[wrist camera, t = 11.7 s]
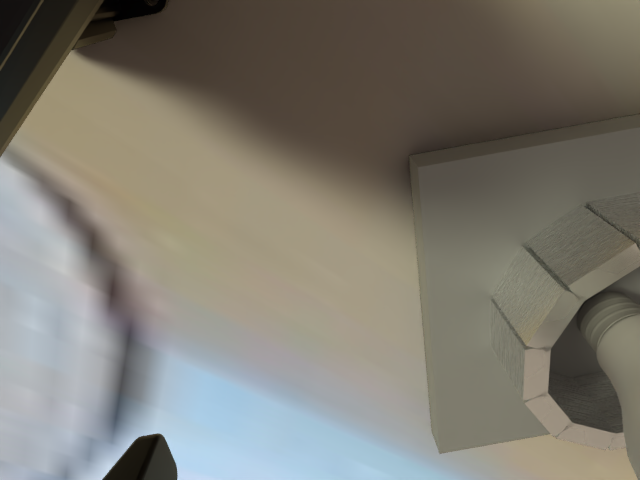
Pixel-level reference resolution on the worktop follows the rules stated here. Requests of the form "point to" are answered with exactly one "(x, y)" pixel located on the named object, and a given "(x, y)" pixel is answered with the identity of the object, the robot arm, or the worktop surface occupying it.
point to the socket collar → (565, 315)
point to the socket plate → (503, 261)
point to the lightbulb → (618, 356)
